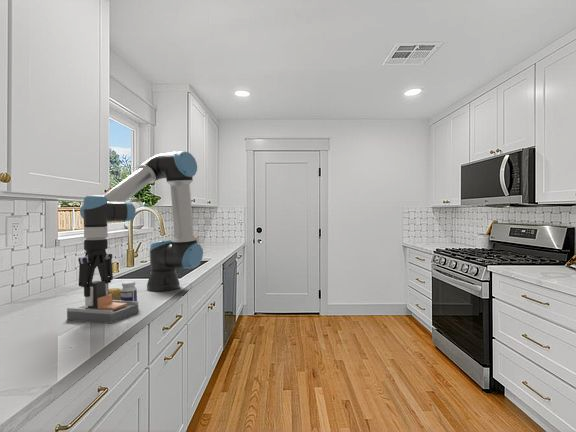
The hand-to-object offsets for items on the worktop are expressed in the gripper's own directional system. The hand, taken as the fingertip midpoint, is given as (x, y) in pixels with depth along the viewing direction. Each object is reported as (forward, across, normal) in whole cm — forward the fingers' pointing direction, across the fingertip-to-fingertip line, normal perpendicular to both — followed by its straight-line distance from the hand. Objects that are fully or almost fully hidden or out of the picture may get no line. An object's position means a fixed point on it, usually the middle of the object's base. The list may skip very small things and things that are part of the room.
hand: (96, 303), depth 134 cm
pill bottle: (+5, -12, +4) cm, 13 cm away
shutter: (+1, 0, +6) cm, 7 cm away
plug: (+4, 0, 0) cm, 4 cm away
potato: (+5, -15, -8) cm, 18 cm away
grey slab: (+4, 0, +3) cm, 5 cm away
